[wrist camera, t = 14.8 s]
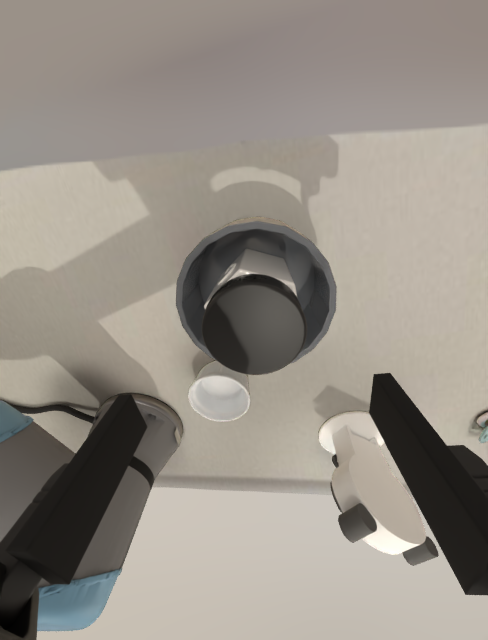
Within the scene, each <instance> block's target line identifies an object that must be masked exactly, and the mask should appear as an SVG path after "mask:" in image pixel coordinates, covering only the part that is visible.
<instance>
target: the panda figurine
mask: <svg viewBox="0 0 488 640" xmlns="http://www.w3.org/2000/svg"><path fill="white" fill-rule="evenodd" d="M318 437H319V441H320V444H321V445H322V447H323V448H324V449H325V450H327V451H328V452H330V453H332V454H335V455H334V456H333V457H332V461H333V463H334V465H335V467H336V469H335V470H334V472H333V475H332V481H331V491H332V494H333V497H334V500H335V502H336V504H337V506H338V508H339V510H340V511H341V512H342V514H341V515H339V518H338V522H339V525H340V528H341V530H342V532H343V534H344V536H345V537H346V538H347V539H348V540H349V541H350V542H352V543H354V542H356V541H358V540H360V539H363V540H364V541H365V542H367V543H368V544H369V545H371V546H372V547H374V548H376V549H378V550H379V551H381V552H384V553H388V554H393V555H396V554H400V553H401V552H402V553H403V556H404V558H405V559H406V560H407V562H408V563H409V564H411V565H413V566H414V565H417V564H420V563H422V562H425V561H427V560H430V559H433V558H435V557H438V551H437V549H436V546H435V544H434V543H433V541H432V540H431V539H430V538H429V537H427V536H426V533H425V528H424V525H423V522H422V519H421V517H420V514H419V512H418V510H417V507H416V505H415V504H414V502H413V500H412V498H411V497H410V495H409V493H408V492H407V491H406V489H405V488H404V486H403V485H402V484H401V483H400V481H399V480H398V479H397V478H396V477H395V476H394V475H393V474H392V472H391V470H390V467H389V465H388V463H387V461H386V459H385V457H384V455H383V453H382V451H381V448H380V446H381V445H382V444H383V443H384V440H383V438H382V436H381V435H380V433H379V431H378V429H377V427H376V425H375V423H374V421H373V419H372V418H371V416H370V414H369V413H367V412H361V411H352V412H345V413H341V414H338V415H336V416H334V417H332V418H330V419H329V420H327V421H326V422H325V423H324V424H323V425H322V426H321V428H320V430H319V435H318ZM337 460H338V462H337ZM338 464H339V465H338Z"/></svg>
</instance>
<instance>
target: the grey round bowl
mask: <svg viewBox="0 0 488 640" xmlns="http://www.w3.org/2000/svg"><path fill="white" fill-rule="evenodd" d="M245 249H250V250H254V251H258V252H261V253H265V254H269V255H272V256H276V257H280V258H283V259H284V260H285V262H286V264H287V267H288V269H289V272H290V274H291V276H292V279H293V281H294V284H295V288H296V293H297V298H298V300H299V302H300V305H301V307H302V310H303V313H304V315H305V318H306V323H307V336H306V340H305V344H304V346H303V348H302V350H301V352H300V353H299V355H298V356H297V357H296V358H295V359H294V360H293V361H292V362H291V363H293V362H295V361H297V360H298V359H300V358H301V357H303V356H304V355H306V354H307V353H309V352H310V351H312V349H314V348H315V346H316V345H317V344H318V343H319V342H320V340H321V339H322V338H323V337H324V336H325V334H326V333H327V331H328V329H329V326H330V324H331V321H332V318H333V316H334V313H335V311H336V284H335V281H334V278H333V275H332V272H331V269H330V266H329V263H328V261H327V260H326V259H325V257H324V256H323V255H322V254H321V252H320V251H319V250H318V249H317V247H316V246H315V245H314V244H313V243H312V241H310V240H309V239H308V238H306V237H305V236H304V235H303V234H301V233H300V232H299V231H297V230H295V229H294V228H292V227H290V226H289V225H287V224H285V223H283V222H282V221H280V220H275V219H270V218H265V217H258V216H257V217H250V218H244V219H238V220H235V221H233V222H231V223H229V224H227V225H226V226H224V227H222V228H220V229H218V230H217V231H215V232H213V233H212V234H210V235H209V236H207V237H205V238H204V239H203V240H202V241H201V242H200V243H199V244H198V245H197V246H196V248H195V249H194V250H193V251H192V252H191V253H190V254H189V255H188V257H187V258H186V259H185V262H184V264H183V267H182V269H181V272H180V274H179V277H178V280H177V289H176V306H177V310H178V313H179V316H180V320H181V323H182V326H183V328H184V329H185V331H186V332H187V334H188V335H189V337H190V338H191V339H192V341H193V342H194V344H195V345H196V346H197V347H199V348H200V349H201V350H202V351H203V352H205V353H206V354H207V355H208V356H210V357H211V358H213V359H215V358H214V357H213V356H212V355H211V354H210V352H209V351H208V349H207V347H206V345H205V343H204V340H203V336H202V320H203V316H204V313H205V308H204V305H205V303H206V301H207V299H208V297H209V296H210V294H211V292H212V290H213V288H214V287H215V285H216V283H217V281H218V279H219V278H220V276H221V274H222V273H223V272H224V271H225V270H226V269H227V268H228V267H229V266H230V265H231V264H232V263H233V262H234V261H235V260H236V259H237V258H238V256H239V255H240V254H241V253H242V252H243V251H244V250H245ZM215 360H216V359H215ZM289 364H290V363H289Z"/></svg>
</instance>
